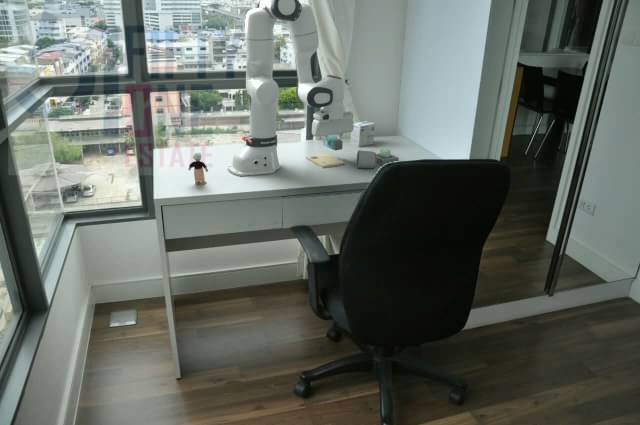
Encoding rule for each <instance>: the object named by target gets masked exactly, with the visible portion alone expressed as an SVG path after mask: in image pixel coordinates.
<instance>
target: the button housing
mask: <svg viewBox="0 0 640 425" xmlns="http://www.w3.org/2000/svg"><path fill="white" fill-rule="evenodd" d="M376 155H377V161H376V165H378V166H380V167H382V166H383V165H384V164H386V163H389V162H394V161H399V160H400V157H399V156H396V155H394V154H392V153H391V154H390V158H385V159H383V158H381V157H380V152H379V153H376Z"/></svg>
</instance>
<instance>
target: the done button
mask: <svg viewBox="0 0 640 425" xmlns="http://www.w3.org/2000/svg"><path fill="white" fill-rule="evenodd" d="M391 152H392V151H391V149H386V148H384V149H383V148H382V149H380V150H379V153H380V157H381V158H383V159H385V158H390V154H392V153H391Z"/></svg>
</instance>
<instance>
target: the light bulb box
mask: <svg viewBox="0 0 640 425" xmlns="http://www.w3.org/2000/svg"><path fill="white" fill-rule="evenodd" d="M353 124H354V129H353V131H352V132H350V145H352V146H355V147H357V148H360V147H361V148H362V147H364V146H369V145H373V144H374V141H375V128H376V123H375V122H371V121H369V120H365V121H359V122H353Z"/></svg>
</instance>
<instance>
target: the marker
mask: <svg viewBox="0 0 640 425" xmlns="http://www.w3.org/2000/svg"><path fill="white" fill-rule="evenodd" d="M322 138H323V137H322ZM327 139H328V140H329V141H330V145H326V144H325V139H324V138H323V141H322V143H323V146H325V147H326V148H329V149H331V150H333V151H338V150H339V151H342V150H343V144H344V143H343V140H341V139H338V137H336V136H334V135H328V138H327Z"/></svg>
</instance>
